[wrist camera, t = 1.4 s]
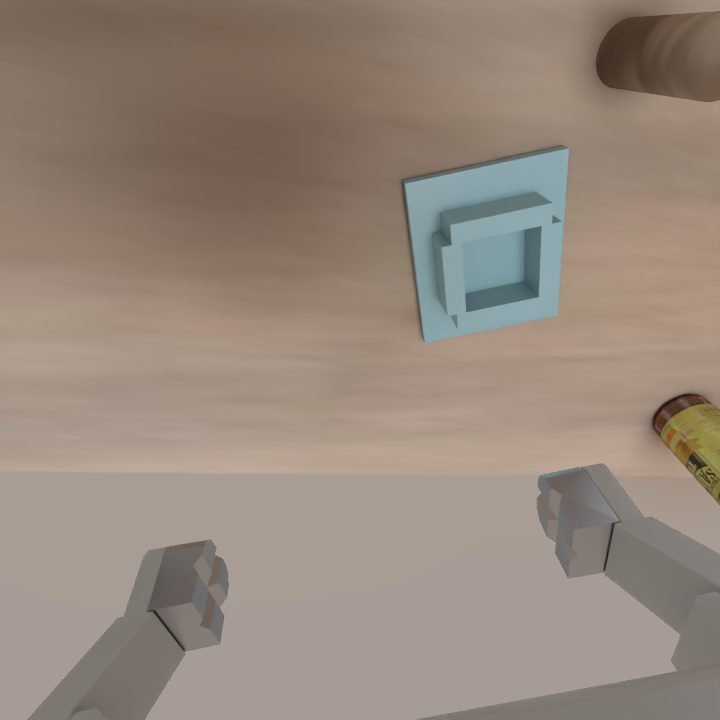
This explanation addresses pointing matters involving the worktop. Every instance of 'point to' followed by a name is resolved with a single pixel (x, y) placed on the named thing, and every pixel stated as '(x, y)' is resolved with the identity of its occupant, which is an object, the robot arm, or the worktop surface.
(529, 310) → the holder
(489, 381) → the worktop surface
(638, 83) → the brown cylinder
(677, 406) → the sauce bottle
